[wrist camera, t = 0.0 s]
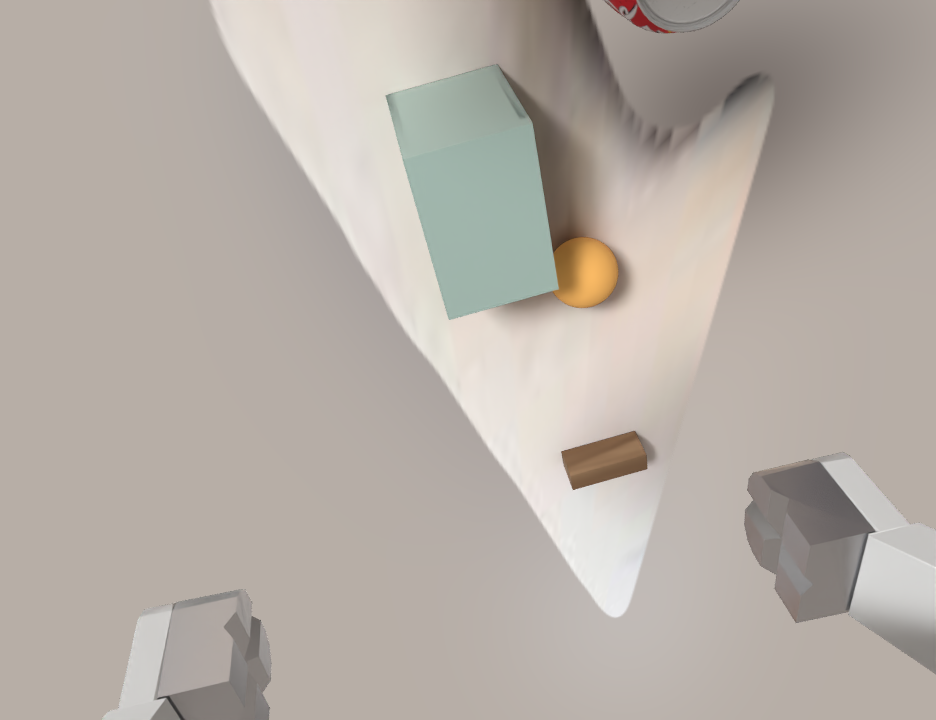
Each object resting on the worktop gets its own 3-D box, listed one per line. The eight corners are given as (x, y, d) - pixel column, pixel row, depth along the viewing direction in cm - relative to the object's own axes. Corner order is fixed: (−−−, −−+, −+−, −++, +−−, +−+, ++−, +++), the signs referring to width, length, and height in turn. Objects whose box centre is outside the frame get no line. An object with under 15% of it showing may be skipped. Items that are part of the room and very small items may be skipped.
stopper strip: (561, 451, 70) (570, 476, 68) (634, 430, 70) (646, 454, 68) (563, 465, 72) (572, 489, 69) (636, 445, 72) (647, 469, 69)
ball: (537, 231, 55) (556, 270, 51) (605, 217, 55) (629, 255, 51) (541, 288, 58) (559, 328, 54) (605, 274, 58) (627, 314, 55)
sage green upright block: (385, 95, 46) (402, 159, 40) (497, 64, 46) (532, 123, 40) (428, 244, 54) (448, 320, 47) (525, 217, 54) (558, 289, 47)
